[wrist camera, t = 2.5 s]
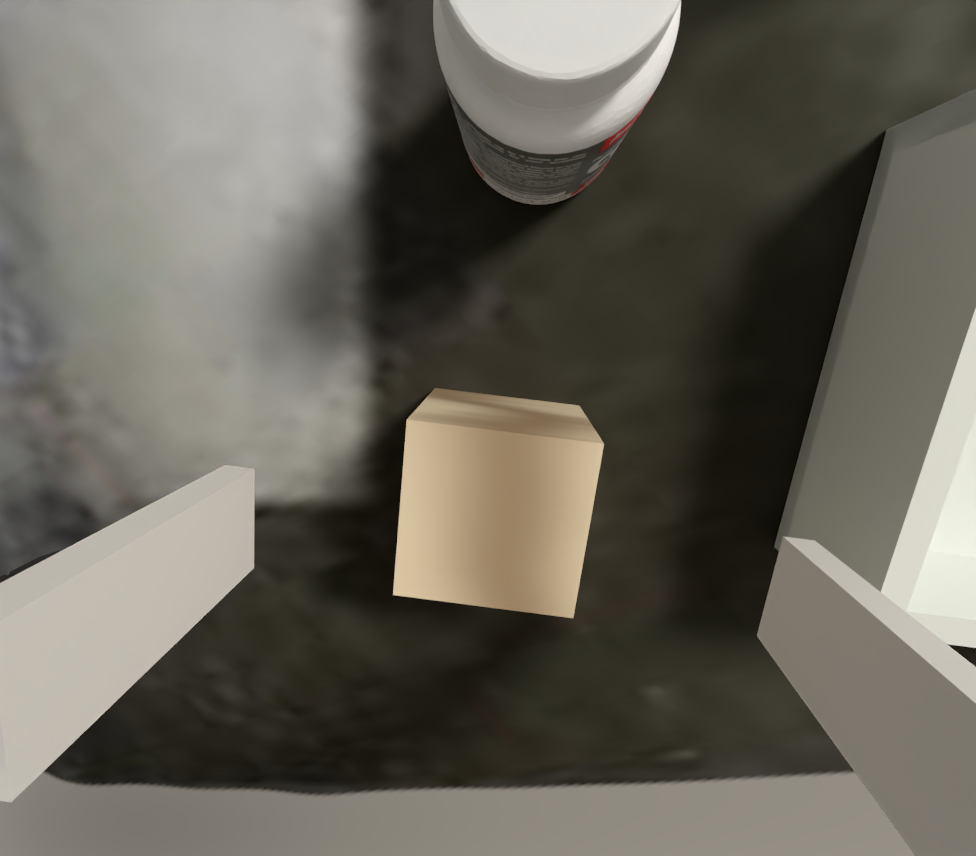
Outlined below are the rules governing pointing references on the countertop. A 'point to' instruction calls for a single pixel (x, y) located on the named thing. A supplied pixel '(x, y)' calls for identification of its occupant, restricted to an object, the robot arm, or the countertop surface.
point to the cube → (496, 502)
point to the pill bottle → (550, 84)
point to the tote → (904, 385)
